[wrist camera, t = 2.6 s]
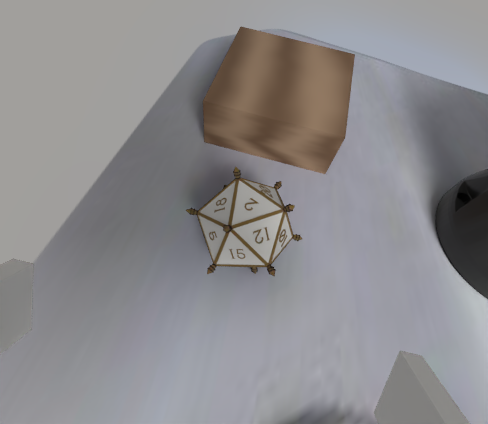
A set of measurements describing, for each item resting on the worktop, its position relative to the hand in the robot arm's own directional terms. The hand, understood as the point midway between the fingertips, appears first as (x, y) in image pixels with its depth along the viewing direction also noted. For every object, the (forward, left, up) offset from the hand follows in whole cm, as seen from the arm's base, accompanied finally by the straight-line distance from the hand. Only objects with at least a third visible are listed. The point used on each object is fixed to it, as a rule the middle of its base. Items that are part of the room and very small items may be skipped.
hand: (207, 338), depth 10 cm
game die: (-5, -9, -14) cm, 17 cm away
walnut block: (-13, -25, -14) cm, 31 cm away
